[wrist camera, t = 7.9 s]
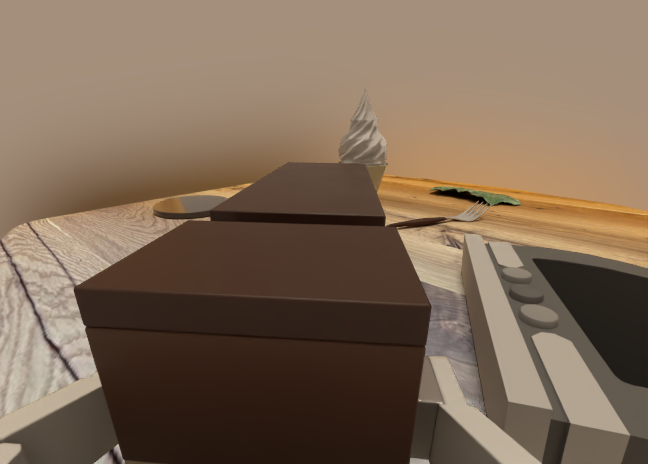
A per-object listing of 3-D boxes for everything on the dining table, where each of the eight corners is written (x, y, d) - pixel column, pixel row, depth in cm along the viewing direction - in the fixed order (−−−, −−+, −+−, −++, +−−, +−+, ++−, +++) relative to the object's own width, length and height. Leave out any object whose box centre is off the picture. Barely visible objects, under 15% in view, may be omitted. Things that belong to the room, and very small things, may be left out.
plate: (179, 224, 38) (178, 217, 38) (139, 210, 44) (138, 204, 44) (245, 207, 46) (245, 201, 46) (204, 197, 52) (204, 192, 51)
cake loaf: (369, 419, 13) (386, 215, 10) (231, 408, 14) (208, 209, 11) (359, 271, 26) (365, 163, 23) (290, 268, 27) (287, 162, 24)
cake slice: (388, 616, 8) (432, 305, 5) (159, 587, 8) (71, 287, 5) (376, 455, 12) (396, 226, 9) (219, 442, 12) (187, 219, 9)
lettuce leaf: (421, 192, 57) (422, 183, 57) (450, 186, 63) (451, 179, 62) (506, 209, 46) (508, 199, 45) (532, 201, 51) (534, 192, 51)
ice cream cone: (359, 227, 37) (366, 92, 33) (391, 239, 34) (405, 88, 29) (327, 235, 35) (329, 88, 30) (357, 249, 31) (365, 83, 26)
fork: (379, 227, 38) (380, 211, 37) (474, 214, 44) (477, 200, 43) (392, 234, 35) (393, 217, 35) (490, 219, 41) (493, 204, 41)
